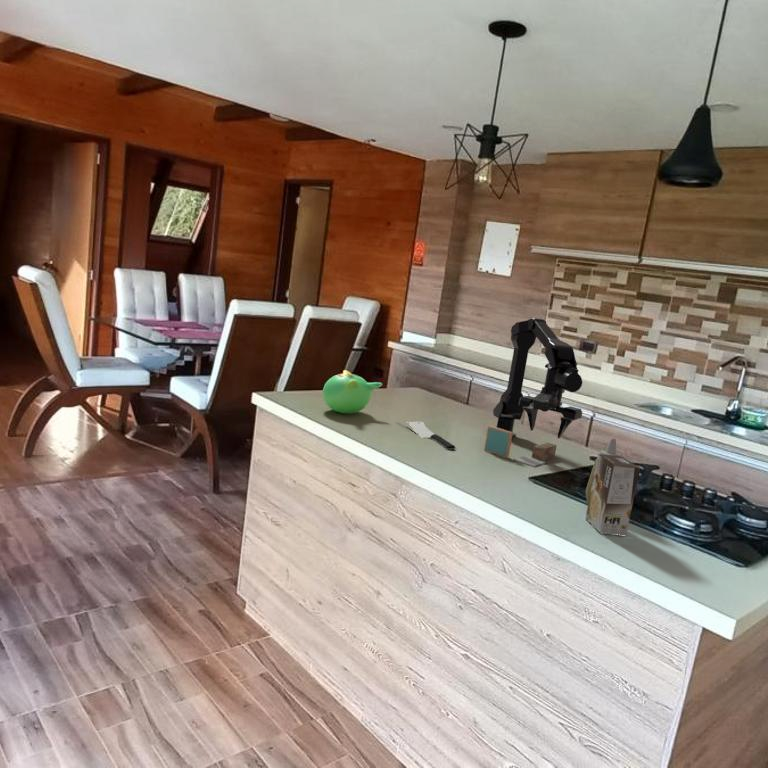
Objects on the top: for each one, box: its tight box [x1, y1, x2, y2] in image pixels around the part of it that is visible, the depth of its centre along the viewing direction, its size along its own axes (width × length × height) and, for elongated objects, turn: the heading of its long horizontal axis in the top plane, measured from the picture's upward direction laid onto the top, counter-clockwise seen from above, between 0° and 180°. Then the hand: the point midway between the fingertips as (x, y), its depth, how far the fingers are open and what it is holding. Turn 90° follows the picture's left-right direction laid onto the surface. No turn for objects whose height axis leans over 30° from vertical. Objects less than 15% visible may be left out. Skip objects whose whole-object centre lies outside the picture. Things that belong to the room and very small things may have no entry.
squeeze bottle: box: [585, 437, 621, 504], centre depth 156 cm, size 8×8×18 cm
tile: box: [483, 425, 514, 459], centre depth 195 cm, size 1×8×8 cm, turn 50°
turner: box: [512, 442, 558, 468], centre depth 196 cm, size 18×7×4 cm, turn 140°
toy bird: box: [322, 369, 383, 415], centre depth 222 cm, size 18×17×15 cm
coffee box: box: [585, 453, 641, 536], centre depth 143 cm, size 9×6×16 cm
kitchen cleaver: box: [406, 421, 456, 451], centre depth 207 cm, size 31×2×10 cm
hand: (545, 434), depth 197 cm, fingers open, 9 cm apart
